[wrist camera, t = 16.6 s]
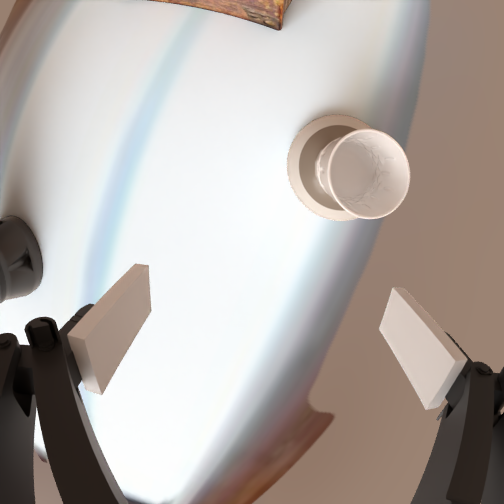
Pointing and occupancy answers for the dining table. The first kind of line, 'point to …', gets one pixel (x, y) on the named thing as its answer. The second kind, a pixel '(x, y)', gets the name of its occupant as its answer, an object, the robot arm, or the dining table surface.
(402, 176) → the white cup
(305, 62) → the dining table surface
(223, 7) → the book
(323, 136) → the beige saucer
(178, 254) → the dining table surface
